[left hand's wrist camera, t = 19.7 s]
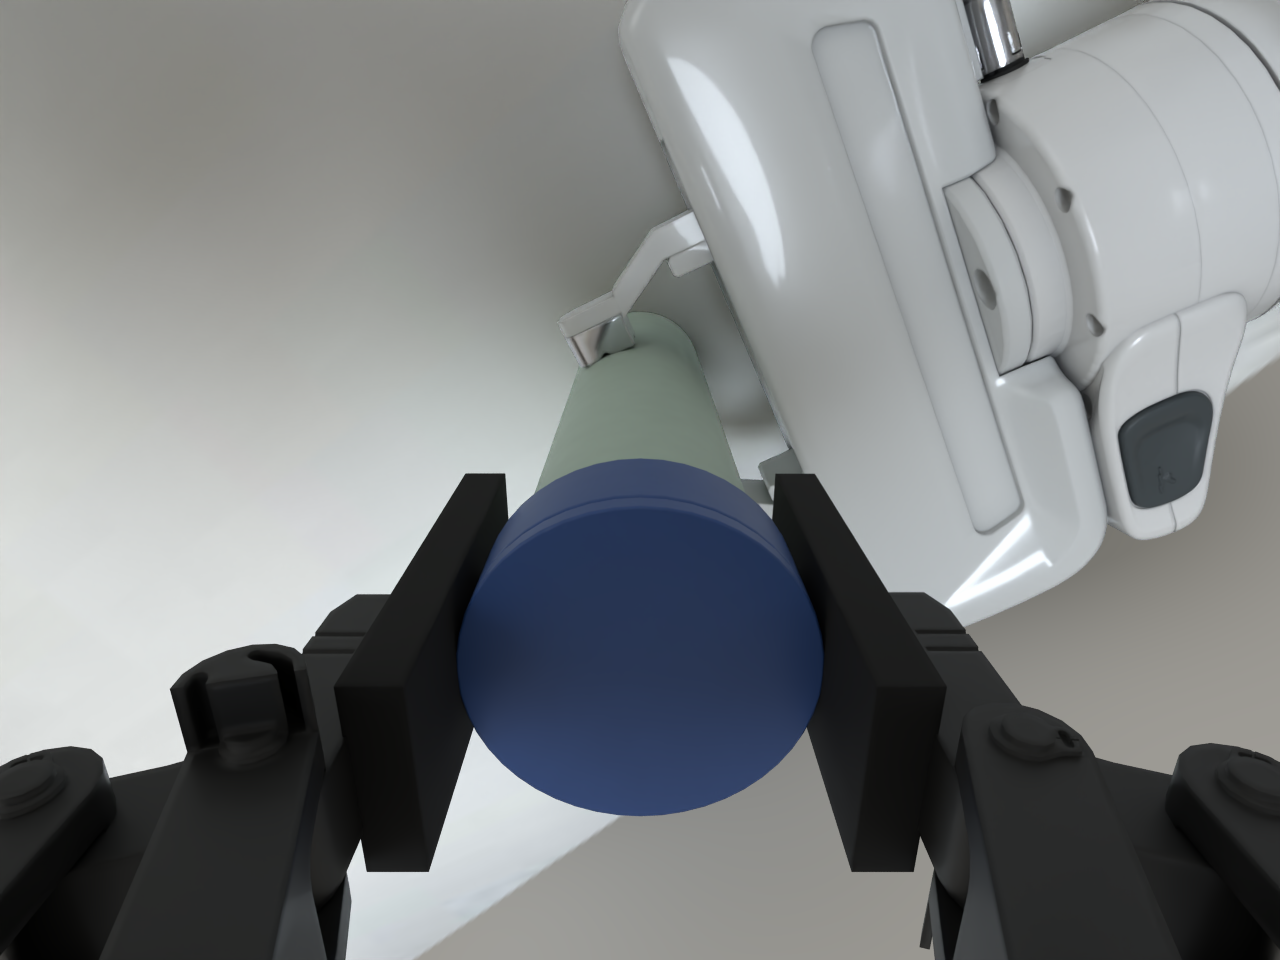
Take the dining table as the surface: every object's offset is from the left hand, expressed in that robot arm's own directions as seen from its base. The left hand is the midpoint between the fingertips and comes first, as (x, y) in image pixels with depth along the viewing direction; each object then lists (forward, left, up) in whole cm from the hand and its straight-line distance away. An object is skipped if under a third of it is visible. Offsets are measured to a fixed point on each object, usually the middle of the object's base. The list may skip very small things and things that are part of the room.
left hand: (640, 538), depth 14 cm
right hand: (-1, 0, -9) cm, 9 cm away
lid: (0, 0, +4) cm, 4 cm away
